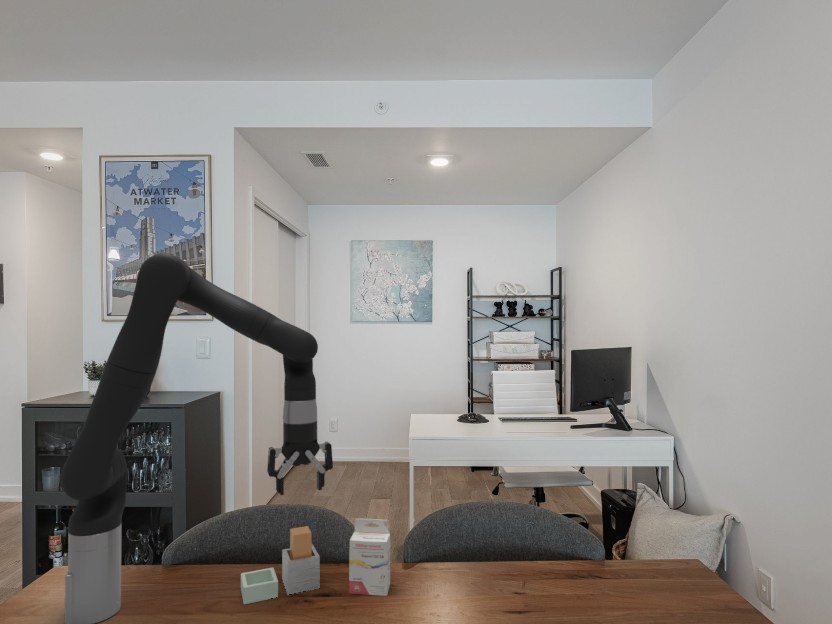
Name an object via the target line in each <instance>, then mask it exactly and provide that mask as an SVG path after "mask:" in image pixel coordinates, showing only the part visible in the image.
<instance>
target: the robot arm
mask: <svg viewBox="0 0 832 624" xmlns="http://www.w3.org/2000/svg"><path fill="white" fill-rule="evenodd" d="M177 302H181V303H184V304H186V305H190V306H192V307H194V308H197V309H199V310H200V311H203V312H204V313H205V314H208V315H209V316H211V317H213V318H214V319H216V320H218V321H219V322H220V323H222V324H224V325H225V326H227V327H228V328H230V329H232V330H233V331H235V332H236V333H238V334H241V335H243V336H244V337H246V338H248V339H250V340H252V341H255V342H256V343H257V344H261V345H263V346H267V347H269V348H271V349H272V350H274V351H275V352H277V353H279V354H280V355H282V359H283V360H282V361H283V362H282V363H283V370H284V384H283V385H284V388H283V389H284V391H283V393H284V394H283V395H284V401H283V409H282V410H283V411H282V414H283V415H282V422H283V425H282V426H283V431H282V436H283V437H282V440H283V441H282V442H283V443H282V445H281V447H276V448H275V447H273V446H270V447H269V448H268V453H267V454H268V456H267V468H266V470H267V471H266V472H267V474H268V476H269V477H271V478H275V491H276V492H277V494H279V495H280V496H284V493H285V491H284V486H285V485H284V484H285V483H284V476H285V474H286V472H288V471H289V470H290V468H291V467H292V466H294V467H299V466H301V465H302V466H306V465H307V466H308V465H309V464H311V463H312V465H313V466H314V467H315V468H316V469H317V471H316V489H317V490H318V491H322V490H323V488H324V487H325V484H326V483H325V477H326V476H325V473H326V472H327V471H329V470H333V467H334V463H333V462H334V461H333V449H332V444H331V443H330V442H329V441H325V442H324V443H323V442H322V443H319V442H318V405H317V404H318V403H317V382H316V377H315V374H314V367H313V366H314V363H313V362H314V360H313V359H314V358H315V357H316V356H317V353H318V350H319V346H318V344H319V343H318V342H317V339H316V338H315V336H314V335H313V334H312V333H310V332H308V331H306V330H304V329H302V328H301V327H298V326H297V325H296V326H295V325H294V324H292V323H289V322H286V321H285V320H282V319H281V318H279V317H277V316H276V315H274V314H273V313H271V312H269V311H267V310H266V309H264V308H262V307H260V306H258V305H256V304H255V303H252V302H250V301H248V300H246V299H244V298H241V297H240V296H237V295H235V294H233V293H231V292H229V291H227V290H225V289H223V288H221V287H220V286H217V285H216V284H214V283H213V282H211V281H210V280H208V279H206V278H204V277H203V276H202V275H200V274H199V273H198V272H197V271H195V270H194V269H193V268H191V266H189V265H188V264H187V263H186V262H185V261H184V260H183V259H181V258H180V257H178V256H176V255H173V254H170V253H157V254H153V255H151V256H149V257H148V258H146V259H145V260H144V261H143V263H141V265H140V267H139V270H138V274H137V278H136V283H135V288H134V291H133V294H132V300H131V303H130V307H129V310H128V312H127V316H126V318H125V320H124V323H123V324H122V327H121V329H120V330H119V333H118V335H117V337H116V339H115V341H114V344H113V346H112V349H111V351H110V353H109V355H108V357H107V361H106V363H105V365H104V369H103V371H102V374H101V376H100V379H99V383H98V384H97V385H98V386H97V389H96V391H95V394H94V397H93V400H92V402H91V404H90V408H89V410H88V413H87V417H86V419H85V421H84V424H83V426H82V429H81V432H80V433H79V435H78V438H77V439H76V441H75V443H74V445H73V447H72V450H71V452H70V453H69V455H68V457H67V459H66V461H65V463H64V464H63V468H62V471H61V476H60V482H61V483H60V484H61V487H62V490H63V492H64V493H65V494H66V496H68V497H69V498H70V499H72V500H75V501H77V504H76V507H75V508H74V510H73V512H72V513H71V514H70V516H69V519H68V522H67V523H68V525H67V526H68V531H67V534H68V537H67V539H68V540H67V542H68V543H67V544H68V545H67V547H68V548H67V551H68V553H67V572H66V574H65V576H64V577H65V578H64V581H65V582H64V624H96V623H100V622H103V621H105V620H107V619H109V618H112V617H113V616H114V615H116V614H117V613H118V612H119V611H120V609H121V605H122V603H121V602H122V601H121V600H122V521H123V518H122V517H123V512H124V509H125V508H126V501H127V484H128V465H127V459H126V457H125V455H124V453H123V451H121V450H120V449H119V448H118V445H119V442H120V441H121V437H122V436H123V434H124V431H125V430H126V429H127V427H128V425H129V424H130V422H131V421H132V419H133V418H134V416H135V415H136V414H137V413H138V411H139V409H140V408H141V406H142V404H143V403H144V402H145V400H146V398H147V396H148V394H149V392H150V390H151V387H152V386H153V385H152V384H153V381H154V379H155V376H156V374H157V370H158V368H159V363H160V361H161V356H162V351H163V346H164V345H163V344H164V338H165V334H166V333H165V332H166V328H167V326H168V323H169V319H170V317H171V315H172V313H173V312H174V309H175V308H176V307H175V306H176V304H177ZM320 450H321V452H322V453H323V455H324V464H321V463H320V461H319V460H318V459H317V458H316V456H317V454H318V453H319V451H320ZM281 454H282V456H283V457H284V459H283V460H282V462H281V463H280V466H279V467H278V469H277V470H276V459H278V458H279V457H280V455H281Z"/></svg>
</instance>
